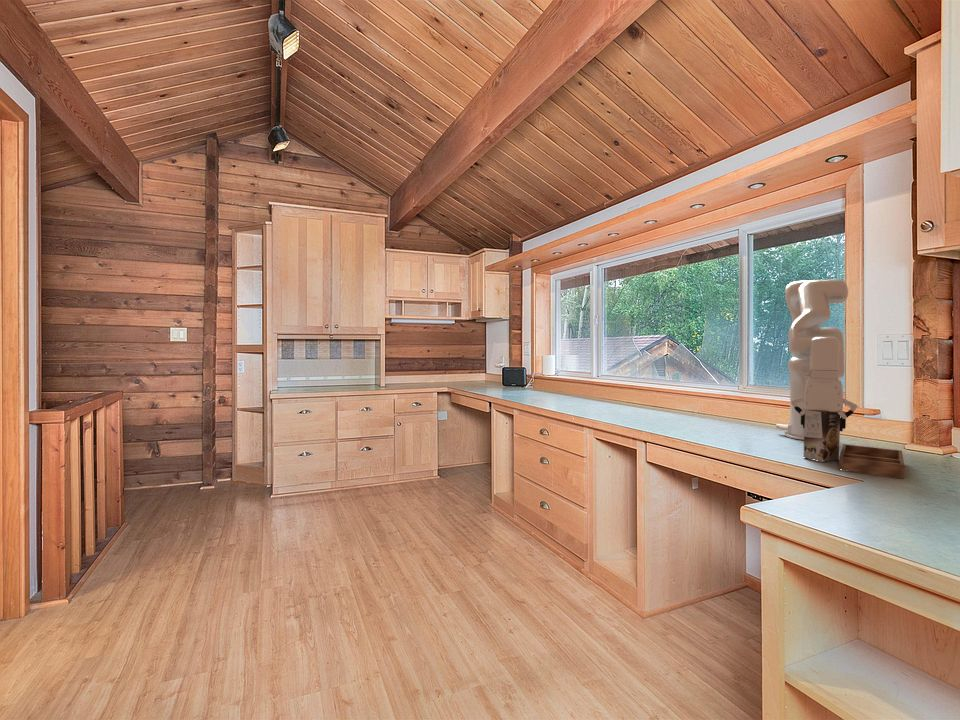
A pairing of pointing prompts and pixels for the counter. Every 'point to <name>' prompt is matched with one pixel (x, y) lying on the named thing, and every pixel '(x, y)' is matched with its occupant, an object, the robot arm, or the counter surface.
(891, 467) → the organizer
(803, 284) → the robot arm
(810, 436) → the coffee box
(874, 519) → the counter surface
